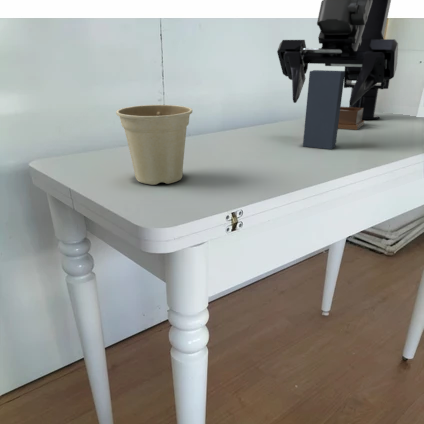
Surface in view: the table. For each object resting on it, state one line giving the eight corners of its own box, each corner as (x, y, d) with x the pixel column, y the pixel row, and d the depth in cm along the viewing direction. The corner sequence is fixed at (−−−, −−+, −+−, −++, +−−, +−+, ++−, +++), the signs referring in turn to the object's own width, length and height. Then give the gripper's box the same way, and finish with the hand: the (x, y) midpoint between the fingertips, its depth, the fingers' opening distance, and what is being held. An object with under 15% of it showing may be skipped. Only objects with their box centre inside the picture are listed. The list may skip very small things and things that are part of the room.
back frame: (317, 121, 99) (319, 104, 97) (364, 124, 95) (366, 107, 93) (308, 126, 94) (309, 109, 92) (356, 129, 89) (359, 112, 88)
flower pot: (186, 190, 56) (183, 116, 51) (113, 187, 57) (104, 114, 52) (200, 171, 64) (198, 105, 59) (135, 169, 65) (129, 104, 60)
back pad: (307, 143, 79) (314, 70, 73) (335, 146, 77) (345, 70, 71) (302, 146, 77) (309, 71, 71) (331, 149, 75) (341, 72, 69)
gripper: (285, -19, 71) (255, 63, 69) (410, -27, 64) (382, 65, 61) (296, 38, 81) (271, 111, 79) (406, 37, 74) (382, 118, 71)
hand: (321, 102), depth 72 cm, fingers open, 9 cm apart
